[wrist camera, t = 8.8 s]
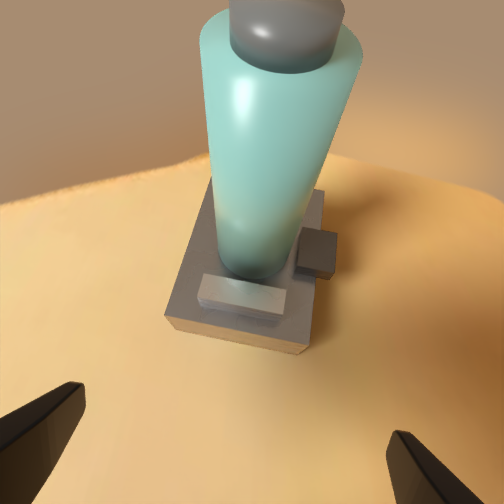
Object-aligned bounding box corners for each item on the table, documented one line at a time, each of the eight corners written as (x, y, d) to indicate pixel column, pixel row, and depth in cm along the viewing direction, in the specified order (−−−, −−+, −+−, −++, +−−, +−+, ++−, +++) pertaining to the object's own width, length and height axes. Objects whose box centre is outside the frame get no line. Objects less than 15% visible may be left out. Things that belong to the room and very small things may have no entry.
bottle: (265, 293, 19) (328, 81, 7) (203, 253, 20) (156, 6, 8) (302, 238, 21) (402, -2, 9) (244, 205, 22) (259, -51, 10)
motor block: (309, 357, 21) (332, 343, 16) (175, 329, 22) (157, 306, 16) (322, 221, 27) (343, 177, 21) (216, 201, 27) (211, 153, 22)
